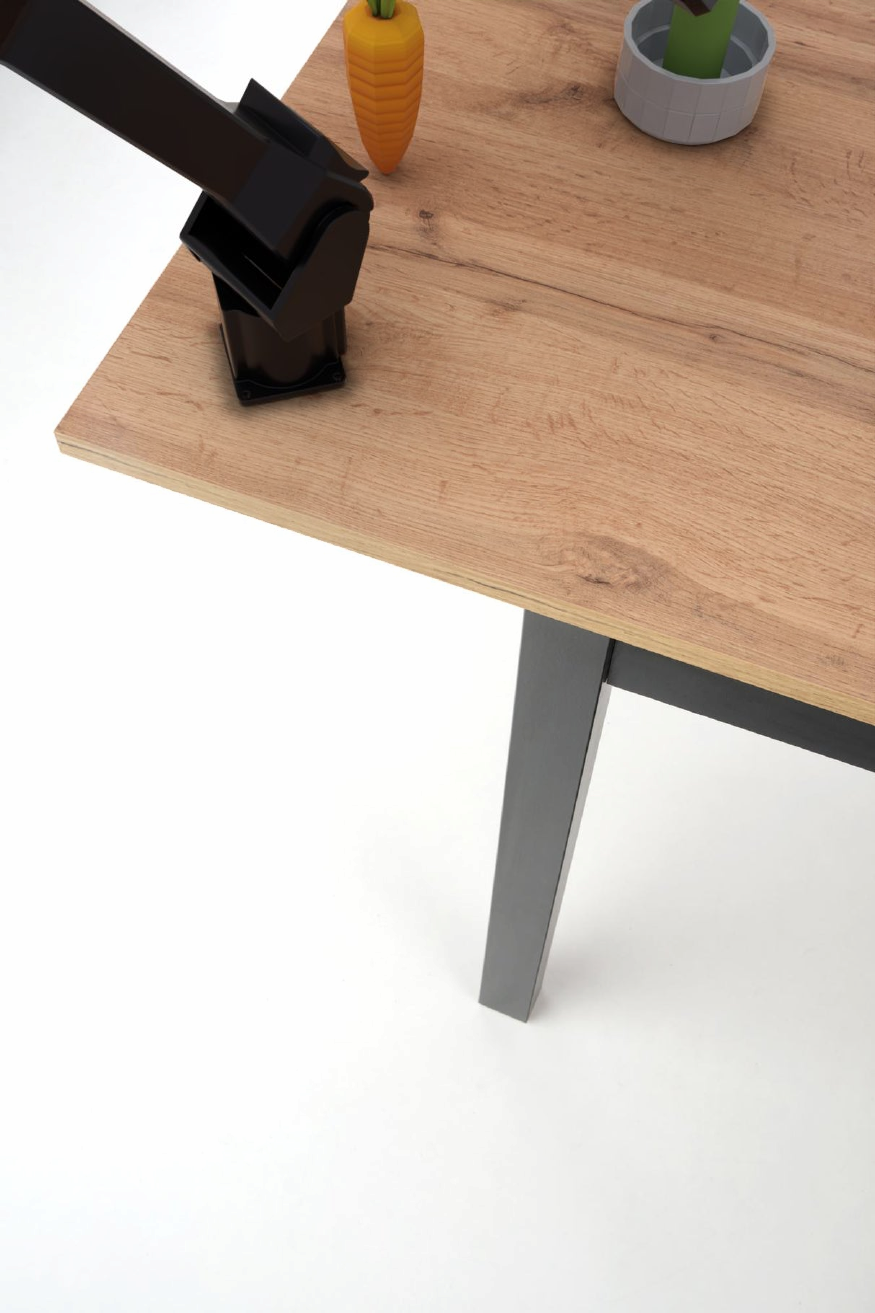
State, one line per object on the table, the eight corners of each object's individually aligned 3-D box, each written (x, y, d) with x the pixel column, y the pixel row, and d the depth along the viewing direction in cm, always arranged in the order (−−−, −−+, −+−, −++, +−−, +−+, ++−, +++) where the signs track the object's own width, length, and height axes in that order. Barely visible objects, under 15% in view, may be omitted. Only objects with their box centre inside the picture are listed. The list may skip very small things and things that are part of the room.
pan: (642, 160, 79) (655, 94, 74) (593, 66, 83) (603, -2, 79) (778, 136, 80) (800, 70, 76) (723, 44, 85) (740, -23, 80)
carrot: (415, 204, 76) (415, -21, 63) (341, 192, 77) (326, -33, 64) (430, 153, 79) (434, -74, 65) (358, 142, 79) (347, -86, 66)
